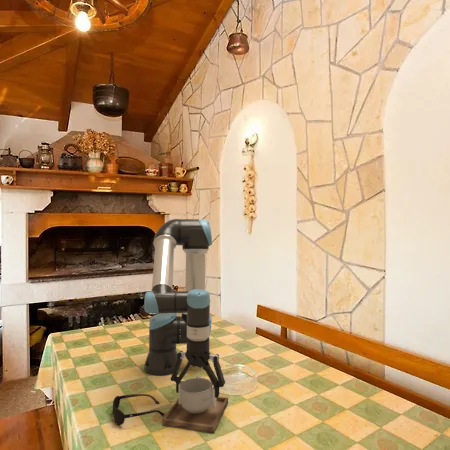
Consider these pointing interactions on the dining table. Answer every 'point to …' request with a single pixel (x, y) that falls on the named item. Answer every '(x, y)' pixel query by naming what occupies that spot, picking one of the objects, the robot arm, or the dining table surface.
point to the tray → (196, 417)
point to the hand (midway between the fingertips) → (197, 404)
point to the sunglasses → (120, 416)
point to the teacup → (196, 394)
